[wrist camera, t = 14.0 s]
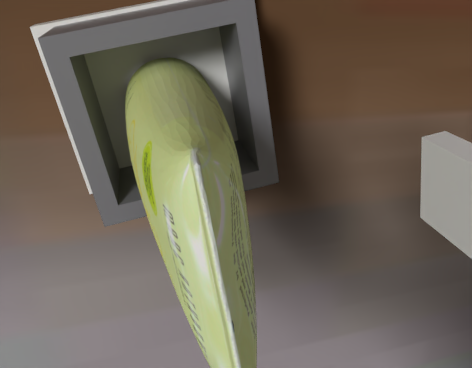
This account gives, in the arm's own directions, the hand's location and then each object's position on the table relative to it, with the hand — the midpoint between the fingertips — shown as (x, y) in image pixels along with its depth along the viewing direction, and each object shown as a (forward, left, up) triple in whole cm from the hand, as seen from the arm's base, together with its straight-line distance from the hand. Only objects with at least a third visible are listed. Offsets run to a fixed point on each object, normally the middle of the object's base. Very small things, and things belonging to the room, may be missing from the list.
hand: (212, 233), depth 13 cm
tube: (0, 0, -16) cm, 16 cm away
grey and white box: (0, 0, -17) cm, 17 cm away
